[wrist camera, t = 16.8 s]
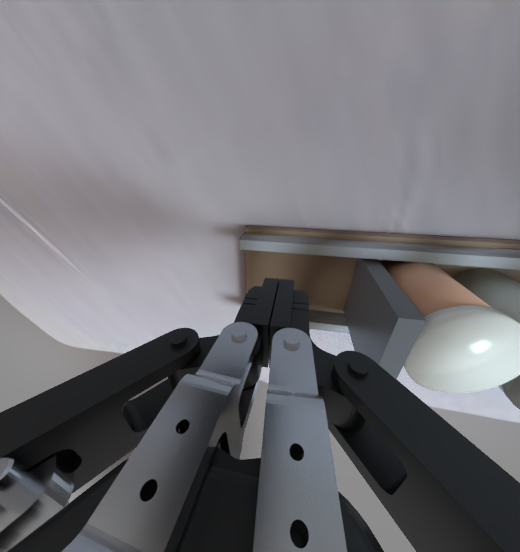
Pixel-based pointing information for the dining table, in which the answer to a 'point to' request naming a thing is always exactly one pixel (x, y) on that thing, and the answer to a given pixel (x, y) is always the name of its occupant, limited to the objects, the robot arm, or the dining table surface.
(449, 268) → the jar lane
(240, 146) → the dining table surface
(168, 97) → the dining table surface
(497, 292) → the grey jar
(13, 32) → the dining table surface
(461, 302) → the terracotta jar
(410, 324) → the pusher paddle
